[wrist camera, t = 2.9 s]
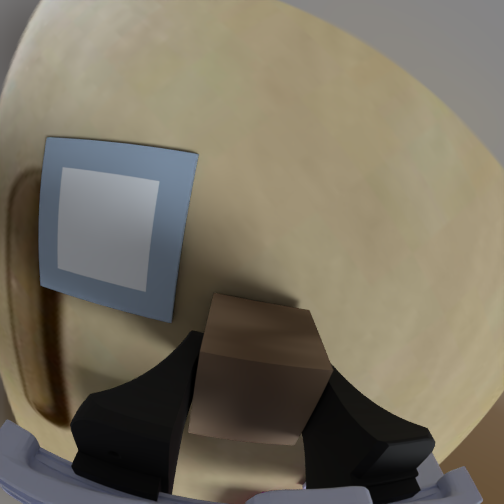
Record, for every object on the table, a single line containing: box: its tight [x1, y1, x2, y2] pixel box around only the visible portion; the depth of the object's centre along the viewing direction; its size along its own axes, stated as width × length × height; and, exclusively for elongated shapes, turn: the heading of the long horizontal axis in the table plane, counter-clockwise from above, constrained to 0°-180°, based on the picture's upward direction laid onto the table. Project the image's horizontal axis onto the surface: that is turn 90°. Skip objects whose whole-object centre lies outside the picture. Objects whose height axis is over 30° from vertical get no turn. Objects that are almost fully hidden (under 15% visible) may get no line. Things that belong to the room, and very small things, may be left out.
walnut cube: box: [188, 293, 333, 445], centre depth 12 cm, size 4×4×4 cm
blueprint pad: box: [39, 137, 199, 323], centre depth 12 cm, size 8×8×1 cm
